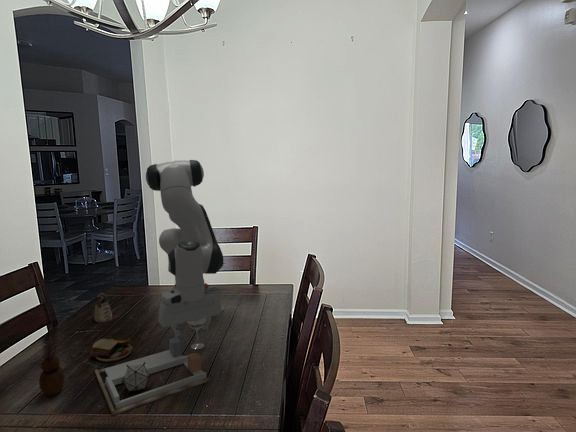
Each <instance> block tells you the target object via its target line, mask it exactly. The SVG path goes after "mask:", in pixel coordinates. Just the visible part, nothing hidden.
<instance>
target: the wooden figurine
mask: <svg viewBox="0 0 576 432" xmlns="http://www.w3.org/2000/svg"><path fill="white" fill-rule="evenodd" d="M40 363H41V365H40V367H41V370H42V372H41V374H40V376H39V379H38V380H39V381H38V384H39V388H40V390H41V392H42V394H43V395H45V396H47V397H51V396H52V397H53V396H54V395H57V394H58V393H60V392H61V390H63V387H64V383H65V378H66V377H65V372H64V369H63V368H62V367H61V366H60V358H59V356H57V355H54V354H53V353H52V348H51V343H50V342H49V343H48V355H47V356H45V357H44V358H43V359H42V361H41V362H40Z"/></svg>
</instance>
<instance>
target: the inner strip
mask: <svg viewBox="0 0 576 432" xmlns="http://www.w3.org/2000/svg"><path fill="white" fill-rule="evenodd" d="M168 346H169V347H168V349H167V350H168V351H167V350H163V351H164V352H163V351H160V352H161V353H160V352H157V353H158V354H156V353H153V354H154V355H153V354H151V356H149V355H146V356H147V357H146V356H143V357H144V358H143V357H139V358H140V359H139V358H136V359H137V360H136V359H133V361H132V360H129V361H130V362H129V361H126V362H127V363H125V362H123V364H122V363H119V364H120V365H118V364H116V366H115V365H113V367H112V366H108V367H109V368H108V367H105V368H106V369H105V368H104V369H105V372H104V373H105V375H106V377H109V376H110V377H111V379H112V378H115V377H118V376H121V375H125V374H126V372H127V369H128V367H127V365H128V366H129V367H130V366H137V365H143V363H144V362H145V364H144V366H145V368H147V367H151V366H154V365H157V364H160V363H164V362H167V361H170V360H174V359H177V358H180V357H183V356H184V355H183V354H182V340H180V338H179V337H173V338H169V339H168Z"/></svg>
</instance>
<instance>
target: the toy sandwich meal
mask: <svg viewBox="0 0 576 432" xmlns="http://www.w3.org/2000/svg"><path fill="white" fill-rule="evenodd" d="M130 341H131V339H130V338H128V339H126V340H118V339H113V338H109V339H107V338H101V339H98V340H96V341H95V342H94V343H93V345H92V346H91V350H90V357H94V358H95V359H96V360H98V361H100V362H104V363H110V362H117V361H119V360H123V359H124V358H126V357H128V356H129V355H130V354H131V353H132V351H133V346H132V345H131V344H130Z"/></svg>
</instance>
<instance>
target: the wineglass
mask: <svg viewBox="0 0 576 432" xmlns="http://www.w3.org/2000/svg"><path fill="white" fill-rule="evenodd" d="M205 321H206V318H202V319H198V320H193V321H189V322H186V323H187V325H188V327H189V328H190V329H192V330H195V332H196V333H195V336H196V342H195V343H193V344H191V345H190V348H191V349H193V350H201V349H203V348H204V347H205V343H202V342H199V330H200V329H202V327H203V326H202V324H204V323H205Z"/></svg>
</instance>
